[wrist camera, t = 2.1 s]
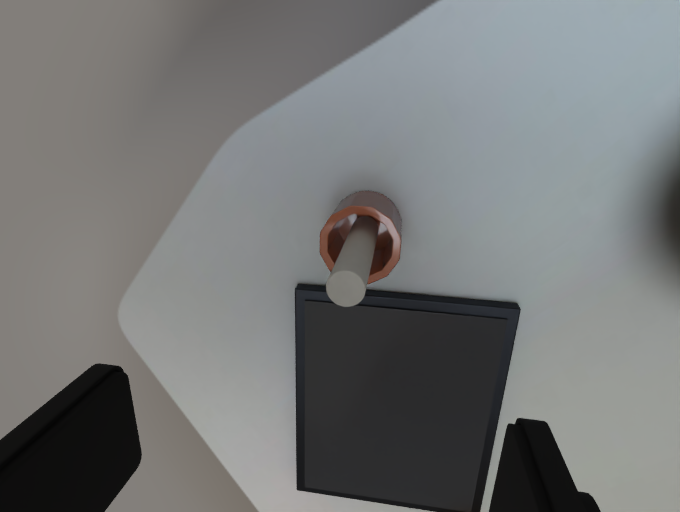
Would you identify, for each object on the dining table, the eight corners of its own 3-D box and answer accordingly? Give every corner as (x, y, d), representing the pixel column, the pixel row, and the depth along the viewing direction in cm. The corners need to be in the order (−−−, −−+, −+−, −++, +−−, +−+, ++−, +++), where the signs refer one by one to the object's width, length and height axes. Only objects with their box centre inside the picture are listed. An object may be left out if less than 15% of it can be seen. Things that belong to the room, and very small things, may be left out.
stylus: (352, 237, 29) (325, 305, 19) (353, 212, 28) (326, 268, 18) (378, 239, 28) (364, 308, 18) (380, 214, 28) (366, 271, 18)
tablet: (299, 481, 38) (295, 492, 37) (297, 283, 31) (294, 289, 30) (477, 508, 36) (479, 521, 35) (517, 302, 29) (522, 310, 28)
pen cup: (332, 253, 30) (319, 280, 25) (334, 188, 28) (320, 203, 24) (398, 259, 29) (397, 287, 25) (404, 192, 28) (404, 209, 23)
